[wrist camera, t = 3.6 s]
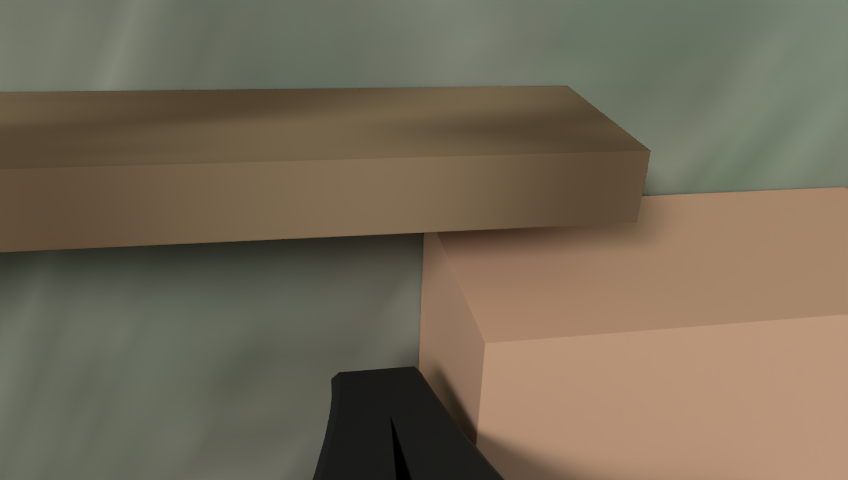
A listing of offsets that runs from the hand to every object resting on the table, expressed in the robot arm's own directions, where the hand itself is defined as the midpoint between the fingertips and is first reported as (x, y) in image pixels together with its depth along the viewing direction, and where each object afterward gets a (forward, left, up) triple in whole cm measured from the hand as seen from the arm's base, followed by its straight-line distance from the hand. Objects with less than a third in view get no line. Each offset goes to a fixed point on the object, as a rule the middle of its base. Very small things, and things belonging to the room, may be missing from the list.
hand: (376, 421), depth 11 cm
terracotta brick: (-5, 0, -2) cm, 6 cm away
